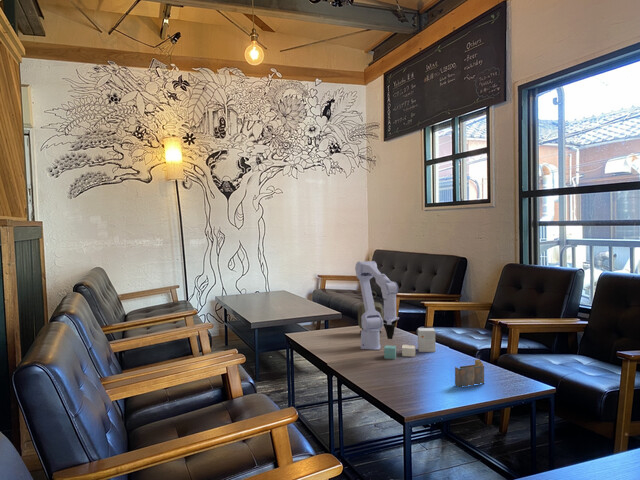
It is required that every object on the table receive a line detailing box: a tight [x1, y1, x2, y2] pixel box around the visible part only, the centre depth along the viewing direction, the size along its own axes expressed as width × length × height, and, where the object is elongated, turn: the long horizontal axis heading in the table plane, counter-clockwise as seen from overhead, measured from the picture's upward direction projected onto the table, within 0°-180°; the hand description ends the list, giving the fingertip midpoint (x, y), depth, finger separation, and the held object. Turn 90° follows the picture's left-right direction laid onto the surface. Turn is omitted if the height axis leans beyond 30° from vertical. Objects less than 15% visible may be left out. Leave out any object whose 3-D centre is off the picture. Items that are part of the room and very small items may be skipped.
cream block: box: [401, 344, 416, 357], centre depth 217 cm, size 6×6×4 cm
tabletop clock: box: [357, 290, 385, 334], centre depth 257 cm, size 14×9×25 cm, turn 85°
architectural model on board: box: [454, 358, 485, 388], centre depth 175 cm, size 11×3×10 cm, turn 108°
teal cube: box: [383, 344, 397, 360], centre depth 213 cm, size 5×5×5 cm
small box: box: [417, 327, 437, 353], centre depth 224 cm, size 8×6×10 cm
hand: (390, 337), depth 213 cm, fingers open, 7 cm apart
